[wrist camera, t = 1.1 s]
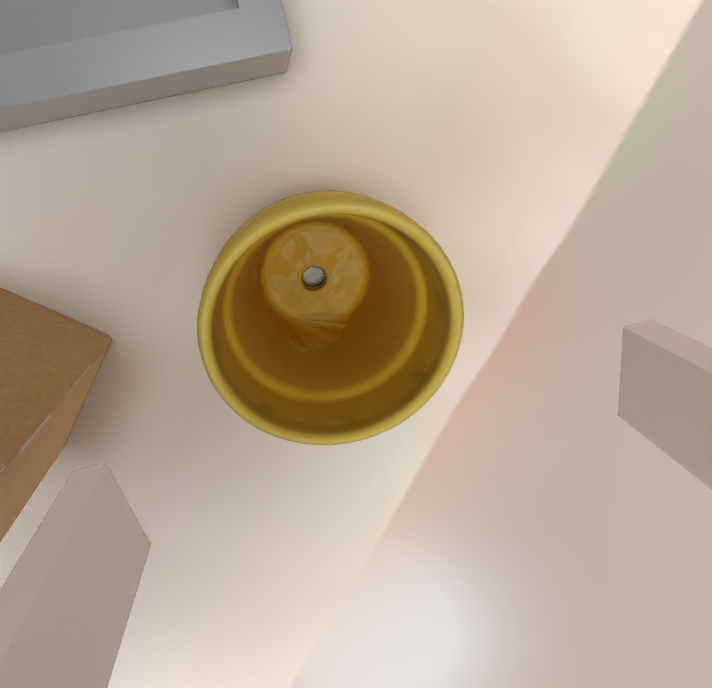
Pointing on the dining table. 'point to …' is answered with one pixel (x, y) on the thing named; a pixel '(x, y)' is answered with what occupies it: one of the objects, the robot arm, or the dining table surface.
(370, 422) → the plant pot
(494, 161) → the dining table surface
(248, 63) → the crate
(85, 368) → the sandwich container
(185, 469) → the dining table surface
